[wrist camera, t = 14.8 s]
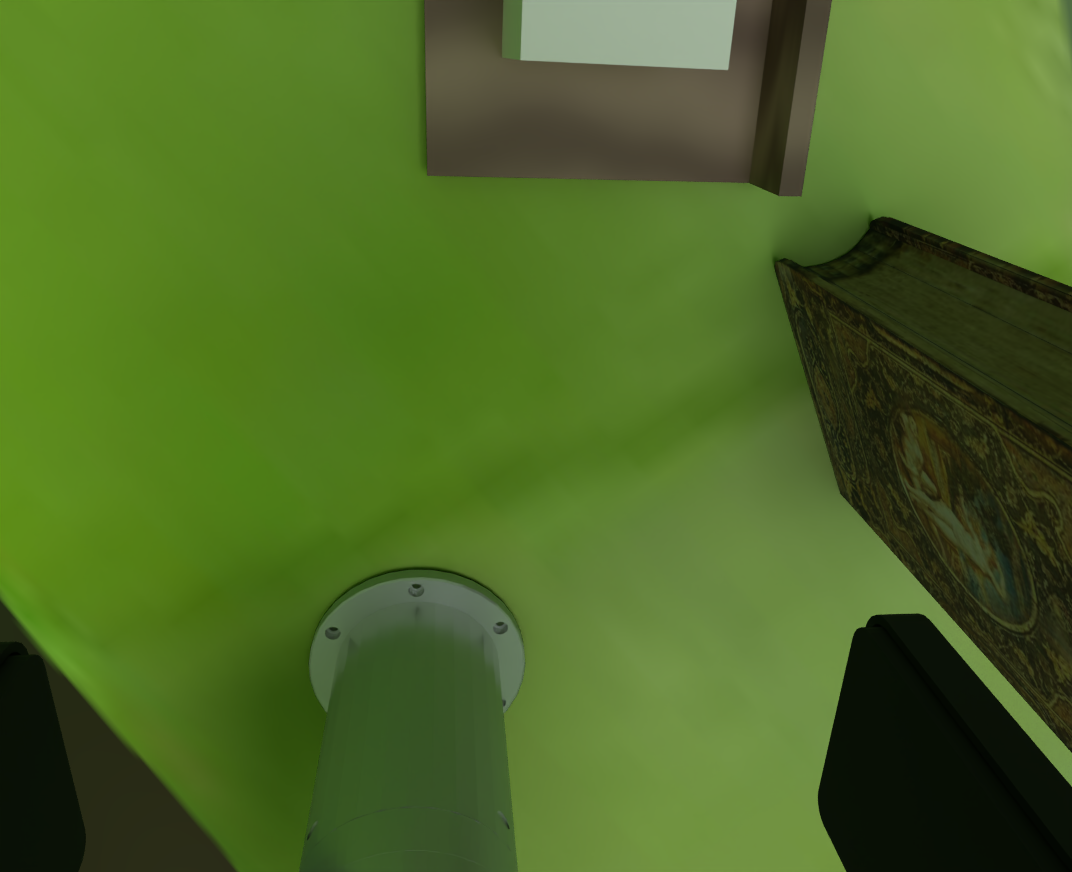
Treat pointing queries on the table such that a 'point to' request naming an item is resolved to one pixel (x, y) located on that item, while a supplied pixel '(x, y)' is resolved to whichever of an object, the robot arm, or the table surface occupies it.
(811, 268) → the book
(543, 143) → the shelf
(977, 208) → the table surface
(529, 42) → the plain rectangular box
